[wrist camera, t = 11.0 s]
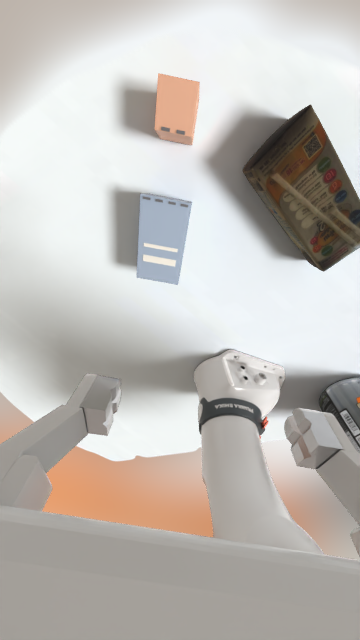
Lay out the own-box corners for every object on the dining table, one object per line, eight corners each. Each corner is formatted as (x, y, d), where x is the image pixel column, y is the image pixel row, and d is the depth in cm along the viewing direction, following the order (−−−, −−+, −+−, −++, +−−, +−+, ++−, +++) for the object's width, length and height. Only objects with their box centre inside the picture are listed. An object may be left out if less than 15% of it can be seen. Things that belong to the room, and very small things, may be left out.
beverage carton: (304, 263, 35) (325, 276, 30) (237, 170, 29) (247, 165, 24) (352, 228, 32) (385, 236, 26) (288, 115, 26) (313, 93, 20)
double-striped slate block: (192, 202, 31) (191, 203, 27) (179, 274, 38) (177, 285, 33) (147, 193, 31) (140, 193, 27) (143, 267, 38) (136, 277, 33)
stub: (198, 99, 25) (199, 81, 21) (192, 145, 27) (191, 136, 23) (164, 92, 25) (158, 72, 21) (160, 138, 27) (154, 129, 23)
